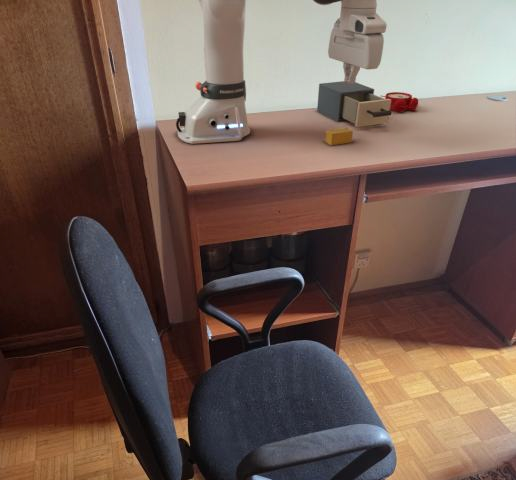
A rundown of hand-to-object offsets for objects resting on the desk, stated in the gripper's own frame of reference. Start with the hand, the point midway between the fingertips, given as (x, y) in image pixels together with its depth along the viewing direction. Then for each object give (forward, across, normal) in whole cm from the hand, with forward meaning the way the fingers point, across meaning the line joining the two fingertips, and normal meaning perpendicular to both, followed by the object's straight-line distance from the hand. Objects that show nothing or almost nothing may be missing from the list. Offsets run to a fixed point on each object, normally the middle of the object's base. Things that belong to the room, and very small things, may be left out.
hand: (349, 82), depth 124 cm
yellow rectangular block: (+15, +1, -2) cm, 15 cm away
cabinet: (+15, -24, +16) cm, 33 cm away
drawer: (+14, -11, +15) cm, 23 cm away
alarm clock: (+15, -22, +38) cm, 46 cm away
